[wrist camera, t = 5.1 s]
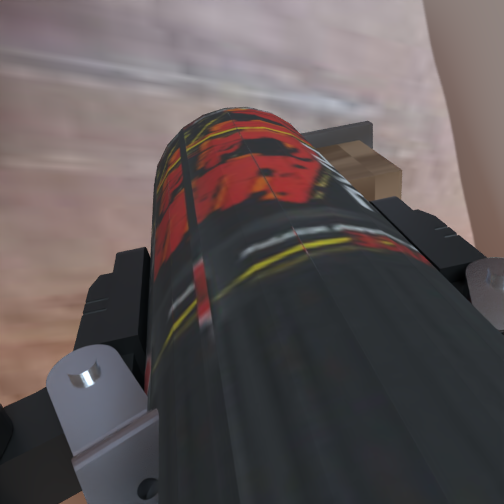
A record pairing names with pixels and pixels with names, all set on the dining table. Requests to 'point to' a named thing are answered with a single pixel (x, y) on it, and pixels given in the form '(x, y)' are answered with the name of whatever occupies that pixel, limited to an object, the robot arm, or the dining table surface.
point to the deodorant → (306, 337)
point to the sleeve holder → (358, 159)
